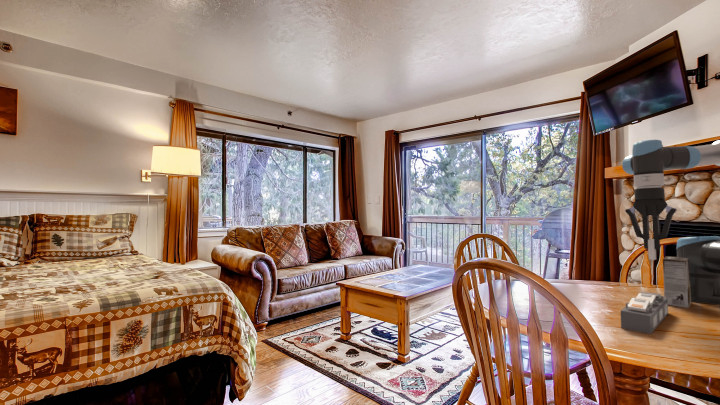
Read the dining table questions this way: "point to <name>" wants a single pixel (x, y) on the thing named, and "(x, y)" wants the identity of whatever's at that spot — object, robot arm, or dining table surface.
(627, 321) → the power strip
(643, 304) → the rocker front
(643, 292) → the rocker back
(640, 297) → the rocker middle
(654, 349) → the dining table surface
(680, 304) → the coffee box
